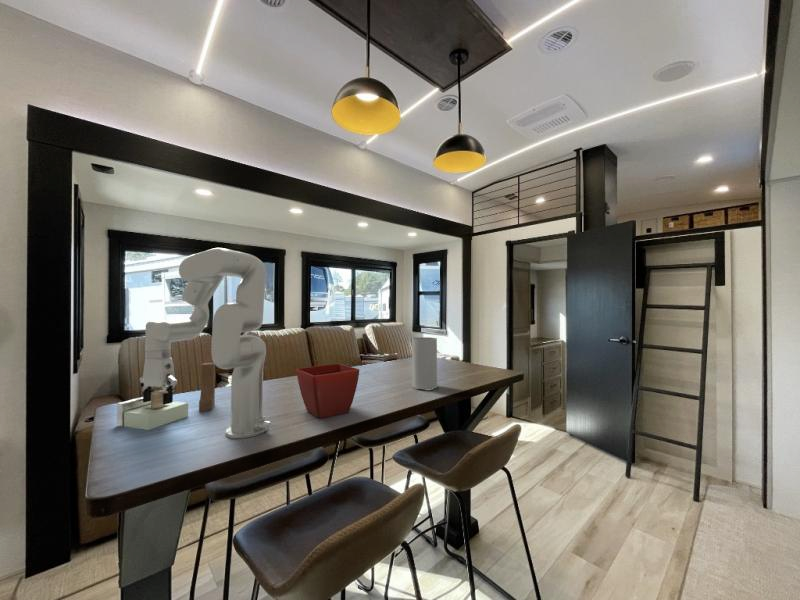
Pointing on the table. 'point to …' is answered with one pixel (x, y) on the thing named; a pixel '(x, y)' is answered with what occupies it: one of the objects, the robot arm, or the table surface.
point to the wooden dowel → (157, 400)
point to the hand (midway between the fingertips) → (157, 402)
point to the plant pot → (328, 388)
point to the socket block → (155, 415)
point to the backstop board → (129, 408)
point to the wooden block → (207, 387)
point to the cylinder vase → (424, 362)
